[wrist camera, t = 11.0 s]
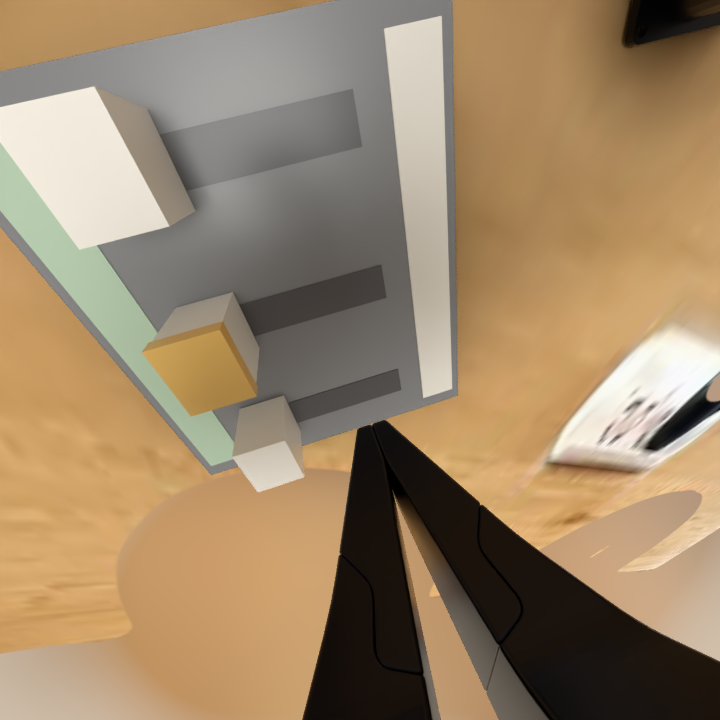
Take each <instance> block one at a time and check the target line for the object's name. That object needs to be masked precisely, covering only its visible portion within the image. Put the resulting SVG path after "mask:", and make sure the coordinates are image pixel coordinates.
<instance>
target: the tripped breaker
mask: <svg viewBox="0 0 720 720" xmlns="http://www.w3.org/2000/svg"><path fill="white" fill-rule="evenodd" d="M259 350H260V348H259V346H258V343H257V341H256V339H255V337H254V335H253V333H252V331H251V329H250V327H249V325H248V323H247V321H246V318H245V316H244V314H243V312H242V310H241V308H240V306H239V304H238V302H237V300H236V298H235V296H234V294H233V292H230V293H227V294H223V295H220V296H216V297H213V298H209V299H205V300H202V301H198V302H195V303H191V304H188V305H184V306H180V307H177V308H175V309H174V311H173V312H172V314H171V315H170V316H169V318H168V319H167V321H166V322H165V323H164V325H163V326H162V328H161V329H160V331H159V332H158V333H157V335H156V336H155V338H154V339H153V341H152V342H149V343H148V344H147V346H146V347H145V348H144V350H143V351H142V353H143V355H144V356H145V357H146V358H147V360H148V361H149V362H150V364H151V365H152V366H153V368H154V369H155V370H156V371H157V373H158V374H159V375H160V377H161V378H162V379H163V381H164V382H165V383H166V385H167V386H168V387H169V388H170V390H171V391H172V392H173V394H174V395H175V396H176V398H177V399H178V400H179V401H180V403H181V404H182V405H183V407H184V408H185V409H186V411H187V412H188V413H189V415H190V416H191V417H192V416H195V415H198V414H202V413H205V412H208V411H211V410H215V409H218V408H221V407H224V406H228V405H231V404H234V403H237V402H241V401H244V400H247V399H250V398H254V397H257V387H258V386H257V384H256V382H257V371H258V361H259Z"/></svg>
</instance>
